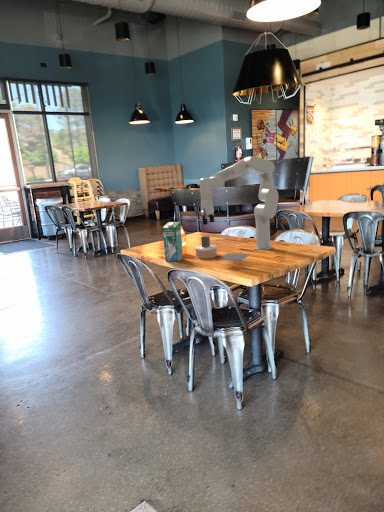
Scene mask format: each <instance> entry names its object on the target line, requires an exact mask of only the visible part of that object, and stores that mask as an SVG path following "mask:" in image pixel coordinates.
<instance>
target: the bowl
mask: <svg viewBox="0 0 384 512" xmlns="http://www.w3.org/2000/svg"><path fill="white" fill-rule="evenodd" d="M217 250H218V249H214V250H208V251H199V250H195V257H197V258H196V259H204V260H205V259H206V260H207V259H213V258H215V257H217V255H218V253H217Z"/></svg>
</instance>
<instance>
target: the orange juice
mask: <svg viewBox="0 0 384 512" xmlns="http://www.w3.org/2000/svg"><path fill="white" fill-rule="evenodd" d="M181 236H182V249H183V255H184V254H187V244H186V233H185V229H183V226H182V225H181Z"/></svg>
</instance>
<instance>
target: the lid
mask: <svg viewBox="0 0 384 512" xmlns="http://www.w3.org/2000/svg"><path fill="white" fill-rule="evenodd" d="M200 239H201V244H200V245H196V246H195V247H194V250H195V251H196V250H199V251H208V250H214V249H216V250H218V245H216V244H211V241H210V235H203V236H201V238H200Z"/></svg>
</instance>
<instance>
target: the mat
mask: <svg viewBox="0 0 384 512" xmlns="http://www.w3.org/2000/svg"><path fill="white" fill-rule="evenodd" d="M249 256H252V255H251V254H249V253H245V254H244V253H229V252H228V253H227V252H226V253H225V254H223V255H221V256H219V257H218V258H217V260H223V261H224V260H225V261H240V262H241V261H243V260H244V259H246V258H248V257H249Z"/></svg>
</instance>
